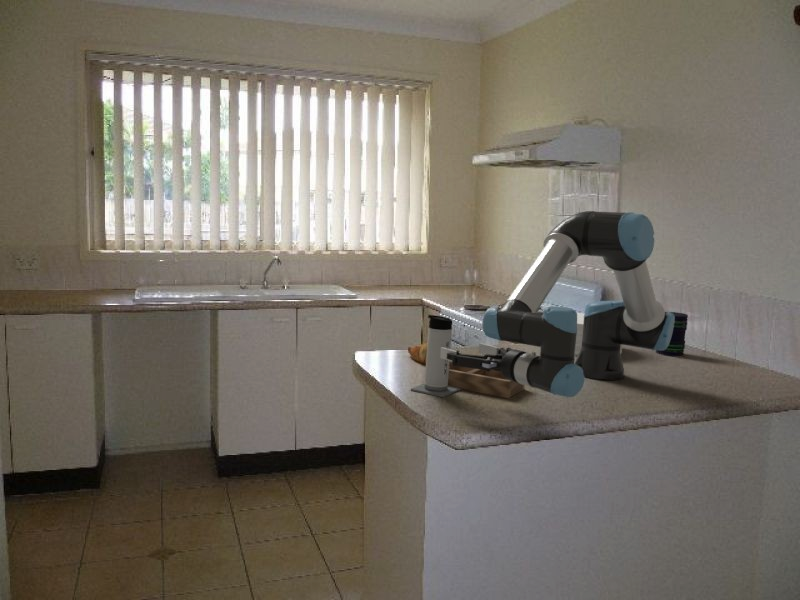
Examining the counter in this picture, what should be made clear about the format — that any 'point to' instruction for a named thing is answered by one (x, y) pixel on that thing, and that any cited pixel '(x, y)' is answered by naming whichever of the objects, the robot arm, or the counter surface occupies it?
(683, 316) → the storage jar
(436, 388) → the travel mug
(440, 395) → the mat
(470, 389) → the wooden divided tray
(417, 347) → the croissant
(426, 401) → the counter surface
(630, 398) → the counter surface
